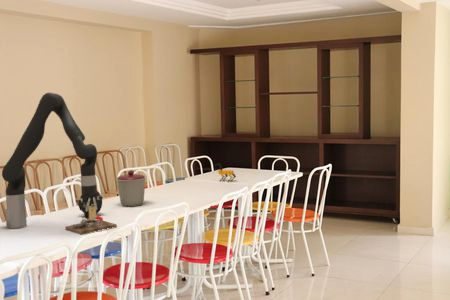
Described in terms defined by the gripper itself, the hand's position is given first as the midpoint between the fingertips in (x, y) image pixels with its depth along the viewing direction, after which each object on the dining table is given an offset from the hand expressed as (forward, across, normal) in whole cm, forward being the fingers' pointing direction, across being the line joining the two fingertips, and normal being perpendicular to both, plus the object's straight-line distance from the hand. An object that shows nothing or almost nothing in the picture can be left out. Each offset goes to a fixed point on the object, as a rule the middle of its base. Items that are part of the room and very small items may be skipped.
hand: (90, 217), depth 300 cm
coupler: (0, 0, 0) cm, 0 cm away
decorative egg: (+6, -16, -28) cm, 33 cm away
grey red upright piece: (+6, -11, -16) cm, 20 cm away
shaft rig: (+6, 0, 0) cm, 6 cm away
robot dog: (+6, -143, -59) cm, 155 cm away
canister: (+6, -48, -36) cm, 60 cm away
